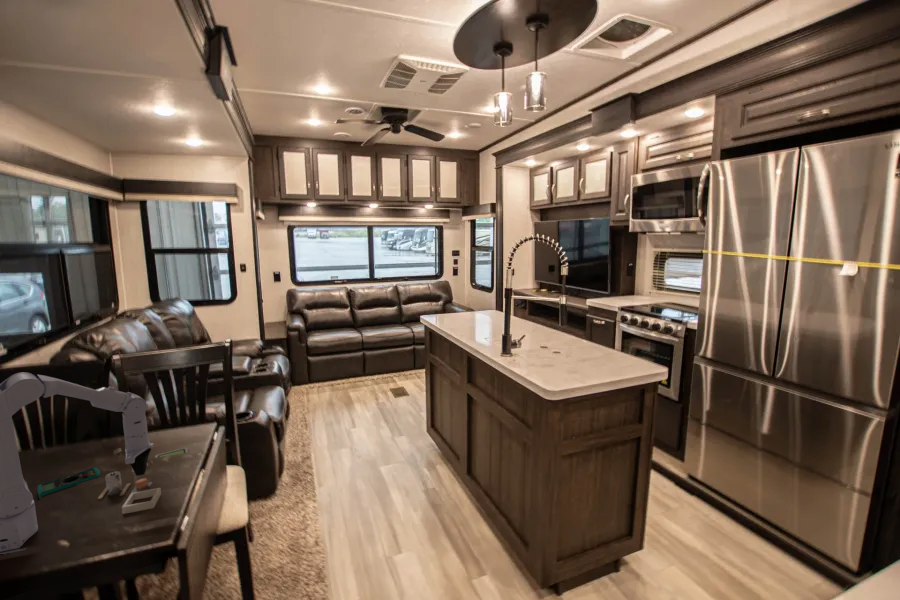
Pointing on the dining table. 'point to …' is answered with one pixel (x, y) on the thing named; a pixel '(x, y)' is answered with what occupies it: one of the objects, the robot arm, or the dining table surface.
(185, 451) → the handheld gaming console
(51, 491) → the digital multimeter
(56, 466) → the dining table surface
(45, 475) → the dining table surface
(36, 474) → the dining table surface
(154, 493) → the tray
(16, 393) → the robot arm
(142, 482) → the test button
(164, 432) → the dining table surface
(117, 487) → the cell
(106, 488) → the beige button panel
